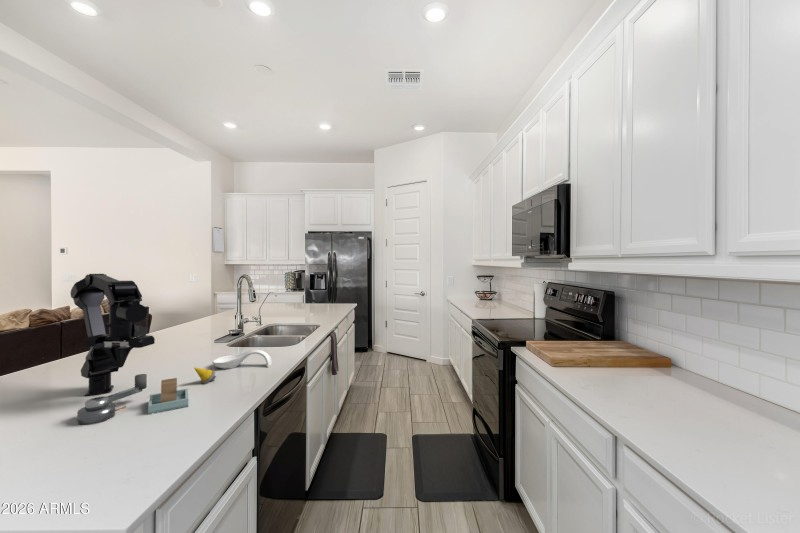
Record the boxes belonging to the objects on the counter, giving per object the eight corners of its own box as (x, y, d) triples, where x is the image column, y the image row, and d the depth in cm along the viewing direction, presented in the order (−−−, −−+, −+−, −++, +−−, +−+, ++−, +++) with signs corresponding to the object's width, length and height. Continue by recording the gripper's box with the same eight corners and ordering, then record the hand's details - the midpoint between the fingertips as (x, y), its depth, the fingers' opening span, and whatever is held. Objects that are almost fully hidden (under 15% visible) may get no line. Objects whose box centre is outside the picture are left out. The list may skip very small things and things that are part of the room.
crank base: (81, 414, 95) (82, 404, 95) (126, 406, 101) (126, 397, 101) (73, 427, 88) (73, 416, 88) (121, 418, 93) (122, 408, 93)
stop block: (161, 401, 103) (161, 380, 103) (176, 399, 106) (176, 377, 106) (160, 406, 100) (161, 383, 100) (176, 403, 102) (176, 381, 102)
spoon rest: (207, 371, 135) (207, 354, 135) (219, 363, 146) (219, 347, 146) (266, 370, 138) (267, 353, 138) (274, 362, 149) (274, 346, 149)
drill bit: (217, 384, 122) (196, 371, 116) (206, 389, 123) (185, 376, 117) (222, 372, 126) (202, 358, 120) (211, 376, 127) (191, 363, 121)
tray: (150, 402, 104) (150, 394, 104) (187, 395, 110) (187, 388, 110) (148, 414, 96) (148, 406, 96) (188, 406, 102) (188, 398, 102)
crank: (92, 411, 90) (92, 393, 90) (80, 409, 92) (80, 391, 91) (151, 390, 105) (151, 374, 105) (139, 388, 107) (140, 373, 107)
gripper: (167, 316, 113) (167, 360, 113) (116, 314, 114) (115, 359, 114) (140, 321, 102) (139, 371, 102) (83, 320, 102) (83, 369, 102)
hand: (120, 367), depth 105 cm, fingers closed
